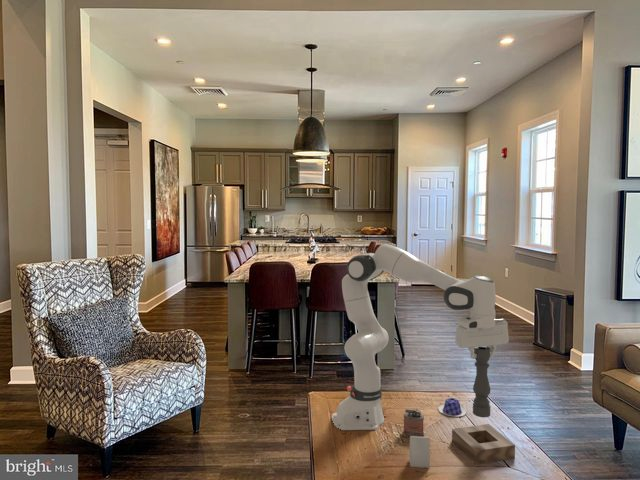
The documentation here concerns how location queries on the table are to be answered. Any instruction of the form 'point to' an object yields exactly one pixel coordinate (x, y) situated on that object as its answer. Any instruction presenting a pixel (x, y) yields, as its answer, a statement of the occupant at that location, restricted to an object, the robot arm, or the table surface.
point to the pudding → (452, 408)
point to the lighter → (413, 423)
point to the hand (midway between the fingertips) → (482, 357)
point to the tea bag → (419, 451)
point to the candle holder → (481, 382)
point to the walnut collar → (483, 444)
